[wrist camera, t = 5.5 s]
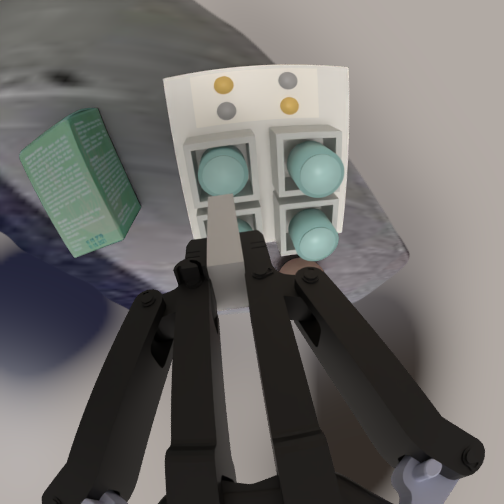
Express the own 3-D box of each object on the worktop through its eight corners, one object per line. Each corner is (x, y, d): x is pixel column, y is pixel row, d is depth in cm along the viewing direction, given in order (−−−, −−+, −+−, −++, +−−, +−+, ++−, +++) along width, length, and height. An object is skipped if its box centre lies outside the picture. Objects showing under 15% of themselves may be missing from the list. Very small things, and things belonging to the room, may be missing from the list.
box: (97, 103, 22) (63, 114, 16) (143, 205, 30) (126, 241, 24) (50, 134, 22) (13, 154, 17) (96, 225, 31) (74, 261, 25)
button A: (196, 146, 24) (193, 155, 21) (242, 140, 24) (246, 148, 22) (203, 188, 27) (202, 201, 24) (247, 182, 27) (250, 195, 24)
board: (166, 78, 22) (154, 78, 18) (340, 67, 23) (365, 67, 18) (197, 242, 34) (195, 270, 29) (336, 224, 35) (352, 248, 30)
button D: (287, 210, 27) (296, 227, 24) (329, 206, 27) (341, 221, 24) (288, 246, 29) (295, 265, 27) (326, 241, 30) (336, 259, 27)
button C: (285, 142, 23) (295, 151, 20) (331, 139, 23) (346, 149, 20) (287, 186, 25) (296, 201, 23) (330, 182, 25) (343, 196, 23)
